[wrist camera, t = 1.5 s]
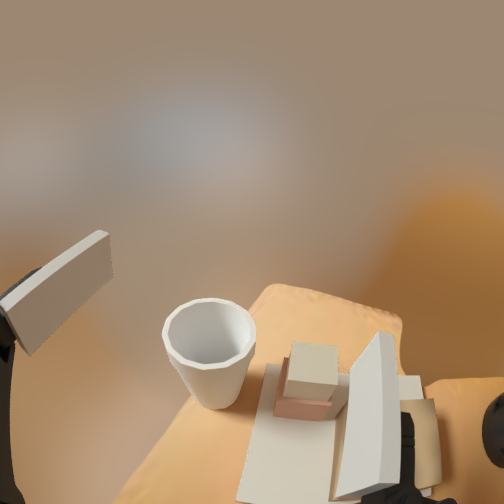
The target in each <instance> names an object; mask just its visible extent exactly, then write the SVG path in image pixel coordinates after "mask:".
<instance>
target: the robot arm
mask: <svg viewBox="0 0 504 504" xmlns="http://www.w3.org/2000/svg"><path fill="white" fill-rule="evenodd" d="M112 278H113V270H112V261H111V250H110V236H109V233H107V232H104V231H102V230H97V231H96V232H94V233H92V234H91V235H90V236H88V237H86V238H85V239H83V240H82V241H80V242H78V243H77V244H75V245H74V246H72V247H71V248H70V249H68V250H67V251H65V252H64V253H63V254H61V255H59V256H58V257H56V258H55V259H54V260H52V261H51V262H49V264H47V265H45V266H44V267H43V268H42V267H41V268H38V269H36V270H33V271H31V272H30V273H29V274H27V275H26V276H25V277H24V278H22V279H21V280H20V281H18V283H16V284H15V285H13V286H12V287H11V288H9V289H8V290H7V291H6V292H5V293H3V294H2V295H1V296H0V504H25V501H24V498H23V496H22V494H21V492H20V491H19V490H18V488H17V487H16V485H15V481H14V474H13V467H12V459H11V446H10V415H9V414H10V391H11V378H12V367H13V360H14V353H15V343H14V341H15V340H16V339H17V341H18V343H19V344H20V346H21V348H22V349H23V350H24V351H25V352H26V353H27V354H28V355H29V356H31V355H32V354H33V353H34V352H35V351H36V350H37V349H38V348H39V347H40V346H41V345H42V344H43V343H44V342H45V341H46V340H47V339H48V338H49V337H50V336H51V335H52V334H53V333H54V332H55V331H56V330H57V329H58V328H59V327H60V326H61V325H62V324H63V323H64V322H65V321H66V320H67V319H68V318H69V317H70V316H71V315H72V314H74V313H75V312H76V311H77V310H78V309H79V308H80V307H81V306H82V305H83V304H84V303H85V302H86V301H88V299H90V298H91V297H92V296H93V295H94V294H95V293H96V292H97V291H99V290H100V289H101V288H102V287H103V286H104V285H105V284H106V283H107V282H109V281H110V280H111V279H112ZM414 437H415V427H414V422H413V419H412V417H411V414H410V413H408V412H401V411H400V395H399V381H398V371H397V361H396V353H395V345H394V338H393V335H392V334H388V333H385V332H382V331H378V332H377V334H376V335H375V336H374V338H373V339H372V341H371V342H370V343H369V345H368V346H367V347H366V349H365V350H364V351H363V353H362V354H361V355H360V357H359V358H358V359H357V360H356V362H355V363H354V364H353V366H352V367H351V369H350V387H349V401H348V412H347V422H346V431H345V440H344V447H343V454H342V461H341V467H340V473H339V479H338V484H337V489H336V494H335V498H346V499H354V498H358V497H361V496H362V497H361V502H358V503H354V504H457V503H456V501H455V500H454V499H451V498H447V499H445V500H442V501H435V500H432V499H429V498H426V497H423V496H422V493H421V492H420V490H419V489H418V488H416V487H415V448H414V446H415V439H414ZM482 437H483V443H484V447H485V450H486V453H487V455H488V457H489V458H490V460H491V461H492V462H493V463H494V464H495V465H496V466H498V467H500V468H504V392H503V393H502V394H500V395H499V396H498V397H497V398H496V399H495V400H494V401H493V402H492V403H491V404H490V405H489V406H488V408H487V410H486V412H485V415H484V419H483V425H482Z"/></svg>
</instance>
